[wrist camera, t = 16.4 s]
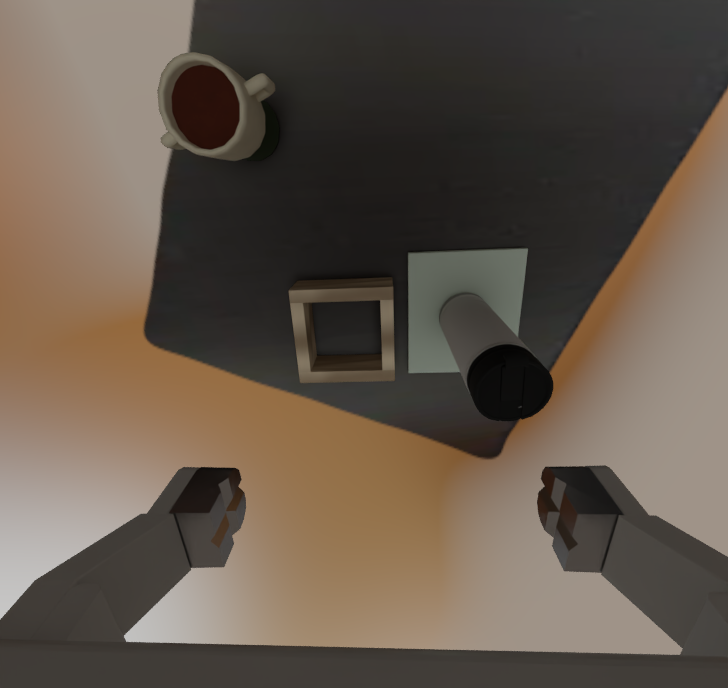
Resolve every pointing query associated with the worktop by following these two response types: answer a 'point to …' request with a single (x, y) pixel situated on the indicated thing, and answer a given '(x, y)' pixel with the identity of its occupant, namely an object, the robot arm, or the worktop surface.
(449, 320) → the travel mug
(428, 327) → the sage mat
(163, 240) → the worktop surface
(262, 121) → the character mug
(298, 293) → the birch holder
